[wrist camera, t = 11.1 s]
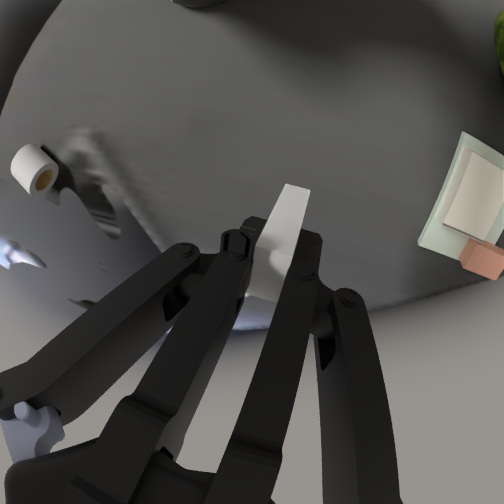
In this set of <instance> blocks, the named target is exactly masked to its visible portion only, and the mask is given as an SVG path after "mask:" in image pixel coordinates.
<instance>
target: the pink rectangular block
mask: <svg viewBox="0 0 504 504" xmlns="http://www.w3.org/2000/svg"><path fill="white" fill-rule="evenodd" d="M458 258H459V260H460V262H461V265H462V267H463V268H464V269H466V270H469V271H471V272H474V273H477V274H479V275H482V276H484V277H487V278H489V279H492V280H494V281H496V279H497V278H498V276H499V275H500V273H501V272H502V270H503V269H504V250H503V249H501V248H499V247H497V246H495V245H493V244H491V243H489V242H487V241H485V240H484V242H483V243H481V242H479V241H477V240H474V239H472V238H469V240H468V242H467V243H466V245H465V247H464V249H463V250H462V252H461V254H460V256H459V257H458Z"/></svg>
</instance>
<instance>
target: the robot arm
mask: <svg viewBox="0 0 504 504" xmlns="http://www.w3.org/2000/svg"><path fill="white" fill-rule="evenodd" d="M170 1H171V2H173V3H176V4H179V5H182V6H185V7H190V8H204V7H210V6H214V5H217V4H220V3H223V2H225V1H227V0H170ZM310 191H311V190H308V189H304V188H301V187H297V186H293V185H289V184H285V186H284V188H283V190H282V192H281V194H280V196H279V198H278V200H277V203H276V205H275V207H274V209H273V211H272V213H271V215H270V217H269V219H268V220H265V219H261V218H258V217H254V216H251V217H249V218H248V219H246V220H245V221H244V222H243V224H242V226H241V227H240V229H239V230H238V229H232V230H228V231H225V232H224V233H222V234H221V246H220V252H219V253H216V254H202V253H200V250H199V248H198V247H197V246H195V245H194V244H191V243H184V242H183V243H177V244H175V245H173V246H171V247H170V248H169V249H167V250H166V251H164V252H163V253H162V254H160V255H159V256H158V257H156V258H155V259H154V260H152V261H151V262H150V263H148V264H147V265H145V266H144V267H143V268H141V269H140V270H139V271H137V272H136V273H135V274H133V275H132V276H131V277H129V278H128V279H127V280H125V281H124V282H123V283H122V284H120V285H119V286H118V287H116V288H115V289H114V290H112V291H111V292H110V293H109V294H107V295H106V296H105V297H104V298H102V299H101V300H100V301H98V302H97V303H96V304H95V305H93V306H92V307H91V308H90V309H88V310H87V311H86V312H85V313H83V314H82V315H81V316H80V317H79V318H77V319H76V320H75V321H74V322H73V323H71V324H70V325H69V326H68V327H66V328H65V329H64V330H63V331H62V332H60V333H59V334H58V335H57V336H56V337H55V338H53V339H52V340H51V341H50V342H49V343H48V344H47V345H45V346H44V347H43V348H42V349H41V350H40V351H38V352H37V353H36V354H35V355H34V356H33V357H32V358H31V359H29V360H28V361H27V362H25V363H23V364H20V365H18V366H15V367H13V368H11V369H8V370H6V371H3V372H1V373H0V422H1V426H2V430H3V433H4V437H5V440H6V443H7V446H8V450H9V452H10V455H11V458H12V461H13V465H12V466H11V467H10V468H9V469H8V471H7V473H6V476H5V482H4V485H5V497H6V504H275V502H274V501H273V500H272V499H271V495H272V492H273V489H274V486H275V483H276V479H277V476H278V473H279V470H280V466H281V463H282V447H283V442H284V439H285V436H286V432H287V428H288V424H289V421H290V417H291V413H292V409H293V405H294V401H295V397H296V393H297V389H298V385H299V381H300V376H301V372H302V367H303V363H304V358H305V353H306V349H307V344H308V339H309V334H310V333H311V334H313V335H314V348H315V358H316V369H317V381H318V394H319V409H320V426H321V447H322V485H323V504H403V503H402V500H401V498H400V492H399V479H398V468H397V458H396V450H395V442H394V435H393V429H392V422H391V415H390V410H389V404H388V399H387V393H386V388H385V383H384V379H383V374H382V369H381V365H380V360H379V356H378V352H377V348H376V344H375V340H374V336H373V332H372V329H371V325H370V321H369V317H368V314H367V310H366V307H365V303H364V300H363V299H362V297H361V296H360V295H359V294H358V293H357V292H356V291H354V290H352V289H348V288H340V289H338V290H336V291H333V290H331V289H330V288H328V287H327V286H325V285H324V284H323V283H322V282H321V280H320V279H319V275H318V269H319V263H320V256H321V249H322V242H323V240H322V238H321V236H320V234H318V233H314V232H311V231H307V230H304V229H301V225H302V221H303V217H304V214H305V210H306V206H307V202H308V198H309V195H310ZM247 289H248V290H247ZM246 291H247V294H250V295H253V296H256V297H259V298H263V299H266V300H269V301H273V302H276V303H277V306H276V309H275V312H274V315H273V318H272V321H271V325H270V328H269V331H268V334H267V337H266V340H265V343H264V346H263V349H262V352H261V355H260V358H259V361H258V364H257V366H256V369H255V372H254V375H253V378H252V381H251V384H250V386H249V389H248V392H247V395H246V398H245V400H244V403H243V406H242V408H241V411H240V414H239V417H238V419H237V422H236V425H235V427H234V430H233V432H232V435H231V438H230V440H229V442H228V445H227V447H226V450H225V453H224V455H223V458H222V460H221V463H220V465H219V468H218V470H217V473H210V472H202V471H193V470H188V469H185V468H183V467H181V466H180V465H179V464H177V463H176V459H177V457H178V455H179V453H180V450H181V448H182V445H183V441H184V437H185V434H186V431H187V429H188V427H189V425H190V423H191V420H192V418H193V416H194V414H195V412H196V409H197V407H198V405H199V403H200V400H201V398H202V396H203V394H204V392H205V389H206V387H207V385H208V382H209V380H210V378H211V375H212V374H213V371H214V369H215V367H216V364H217V362H218V360H219V358H220V355H221V353H222V351H223V349H224V346H225V344H226V342H227V339H228V337H229V335H230V333H231V330H232V328H233V326H234V323H235V321H236V319H237V316H238V314H239V312H240V310H241V307H242V305H243V303H244V297H245V293H246ZM172 326H173V327H172ZM171 327H172V329H171V330H170V332H169V334H168V336H167V337H166V339H165V341H164V342H163V344H162V345H161V347H160V349H159V351H158V352H157V354H156V356H155V357H154V359H153V361H152V362H151V364H150V366H149V367H148V369H147V371H146V373H145V374H144V376H143V378H142V379H141V381H140V383H139V385H138V386H137V388H136V389H135V391H134V392H133V393H132V394H131V395H129V396H125V397H124V398H123V399H122V400H121V401H120V402H119V403H118V405H117V406H116V408H115V409H114V411H113V413H112V415H111V416H110V418H109V420H108V422H107V423H106V425H105V427H104V429H103V431H102V433H101V434H100V436H99V437H98V438H95V439H92V440H89V441H87V442H84V443H81V444H78V445H75V446H72V447H69V448H65V449H62V450H59V451H56V452H52V453H50V450H51V448H52V446H53V445H55V444H56V443H57V442H58V441H62V440H63V438H64V436H65V433H64V430H63V426H64V425H66V424H68V423H70V422H72V421H73V420H75V419H76V418H78V417H79V416H80V415H82V414H83V413H84V412H85V411H86V410H87V409H88V408H89V407H90V406H91V405H93V404H94V403H95V402H96V401H97V399H99V397H101V396H102V395H103V394H104V393H105V392H106V391H107V390H108V389H109V388H110V387H111V386H112V385H113V384H114V383H115V382H116V381H117V380H118V379H119V378H120V377H121V376H122V375H123V374H124V373H125V372H126V371H127V370H128V369H129V368H130V367H131V366H132V365H133V364H134V363H135V362H136V361H137V360H138V359H139V358H141V356H143V355H144V354H145V352H147V351H148V349H150V348H151V347H152V346H153V345H154V344H155V343H156V342H157V341H158V340H159V339H160V338H161V337H162V336H163V335H164V334H165V333H166V332H167V331H168V330H169V329H170V328H171Z"/></svg>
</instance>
